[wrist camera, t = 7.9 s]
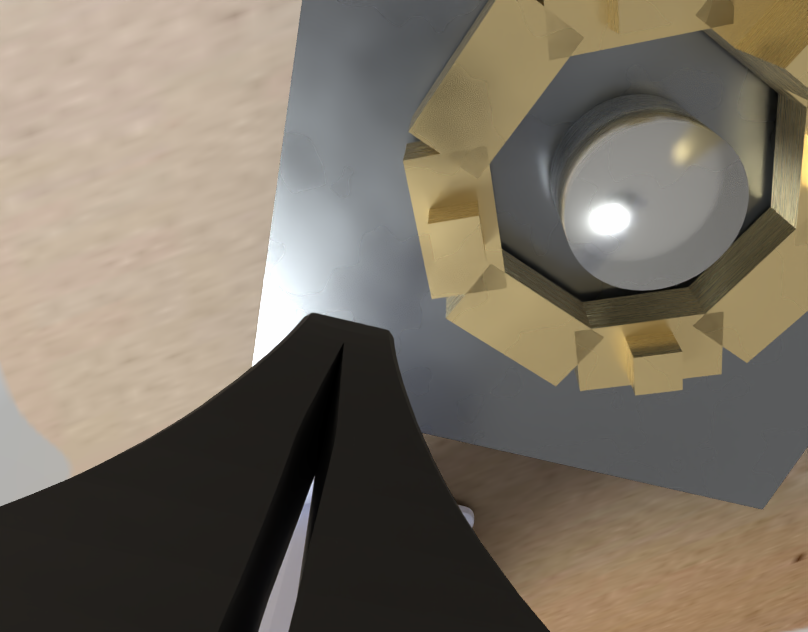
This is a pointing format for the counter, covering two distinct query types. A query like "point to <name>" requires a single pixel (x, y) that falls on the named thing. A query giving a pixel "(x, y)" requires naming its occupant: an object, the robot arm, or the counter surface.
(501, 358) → the dark gray base plate
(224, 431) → the robot arm
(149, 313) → the counter surface
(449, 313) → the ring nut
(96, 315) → the counter surface
